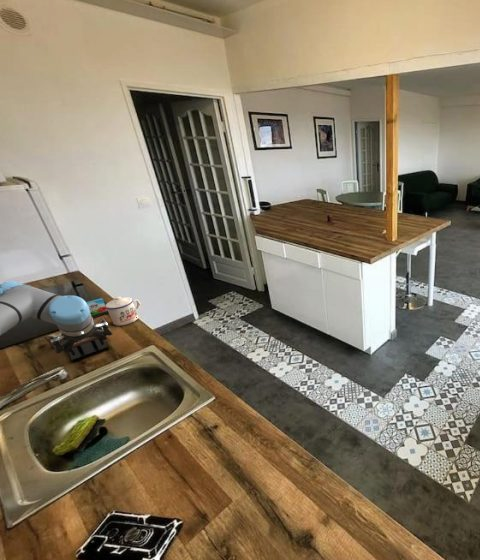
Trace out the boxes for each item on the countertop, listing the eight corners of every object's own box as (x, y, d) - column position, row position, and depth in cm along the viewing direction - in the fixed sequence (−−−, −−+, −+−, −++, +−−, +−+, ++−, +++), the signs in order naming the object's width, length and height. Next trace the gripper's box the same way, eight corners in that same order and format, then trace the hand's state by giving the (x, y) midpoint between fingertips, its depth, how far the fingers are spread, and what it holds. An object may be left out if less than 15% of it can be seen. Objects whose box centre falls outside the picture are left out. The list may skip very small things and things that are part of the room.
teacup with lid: (123, 327, 130) (112, 303, 125) (107, 324, 132) (96, 300, 127) (150, 313, 140) (142, 291, 135) (135, 310, 142) (127, 288, 137)
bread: (48, 347, 117) (41, 335, 115) (102, 321, 134) (97, 310, 131) (59, 350, 115) (52, 338, 113) (113, 324, 132) (108, 313, 130)
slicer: (109, 349, 117) (94, 318, 111) (73, 362, 110) (56, 330, 104) (101, 337, 124) (87, 307, 118) (67, 348, 117) (51, 317, 111)
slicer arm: (99, 340, 110) (97, 335, 109) (73, 349, 105) (70, 345, 104) (87, 318, 115) (85, 313, 114) (61, 326, 111) (59, 321, 109)
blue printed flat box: (107, 309, 143) (102, 297, 140) (107, 310, 142) (102, 299, 139) (71, 320, 134) (65, 307, 132) (72, 321, 133) (66, 309, 131)
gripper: (35, 351, 87) (52, 370, 104) (122, 322, 101) (126, 343, 118) (24, 328, 88) (43, 351, 104) (112, 303, 102) (117, 326, 118)
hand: (87, 346), depth 111 cm, fingers closed on slicer arm, 7 cm apart
